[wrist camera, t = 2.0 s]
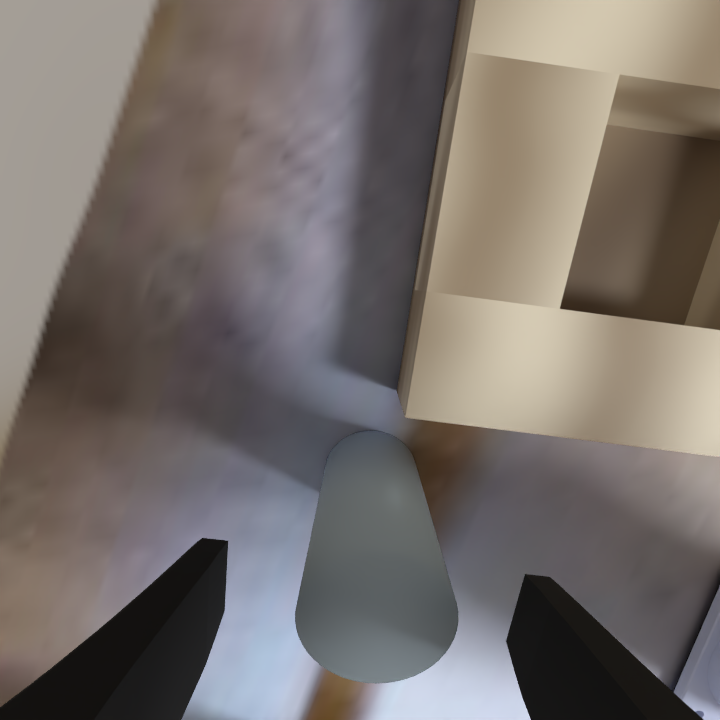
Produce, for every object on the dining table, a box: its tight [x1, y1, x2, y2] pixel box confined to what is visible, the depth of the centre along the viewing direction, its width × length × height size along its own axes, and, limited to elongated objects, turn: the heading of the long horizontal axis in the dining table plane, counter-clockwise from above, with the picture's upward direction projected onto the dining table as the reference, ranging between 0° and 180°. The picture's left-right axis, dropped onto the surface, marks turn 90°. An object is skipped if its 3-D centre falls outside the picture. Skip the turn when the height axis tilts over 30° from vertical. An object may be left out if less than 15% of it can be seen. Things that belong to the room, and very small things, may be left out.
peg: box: [295, 431, 458, 683], centre depth 10 cm, size 4×4×6 cm
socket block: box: [397, 0, 720, 457], centre depth 10 cm, size 13×13×3 cm
